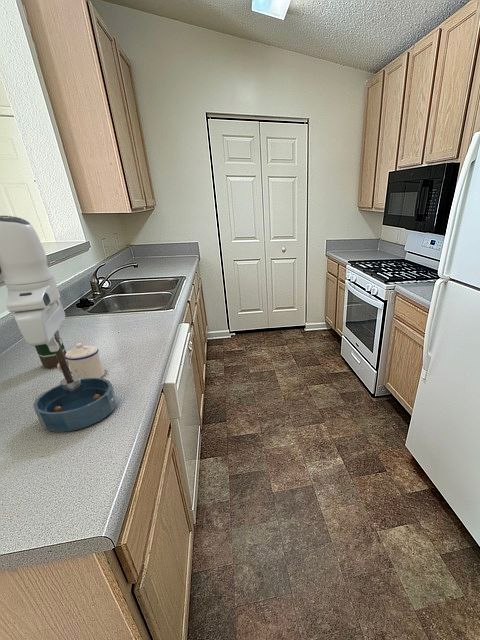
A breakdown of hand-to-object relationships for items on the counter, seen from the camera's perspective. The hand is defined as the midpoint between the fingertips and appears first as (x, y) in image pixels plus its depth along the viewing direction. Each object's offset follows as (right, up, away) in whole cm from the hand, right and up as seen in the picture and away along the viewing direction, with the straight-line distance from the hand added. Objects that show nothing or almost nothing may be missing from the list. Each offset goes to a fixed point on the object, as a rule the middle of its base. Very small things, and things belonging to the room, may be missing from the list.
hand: (56, 348), depth 81 cm
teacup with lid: (-10, -9, +26) cm, 29 cm away
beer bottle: (-26, -4, +36) cm, 45 cm away
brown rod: (0, -11, +5) cm, 12 cm away
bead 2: (+2, -13, +13) cm, 19 cm away
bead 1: (-5, -16, +7) cm, 19 cm away
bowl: (0, -17, +9) cm, 19 cm away
